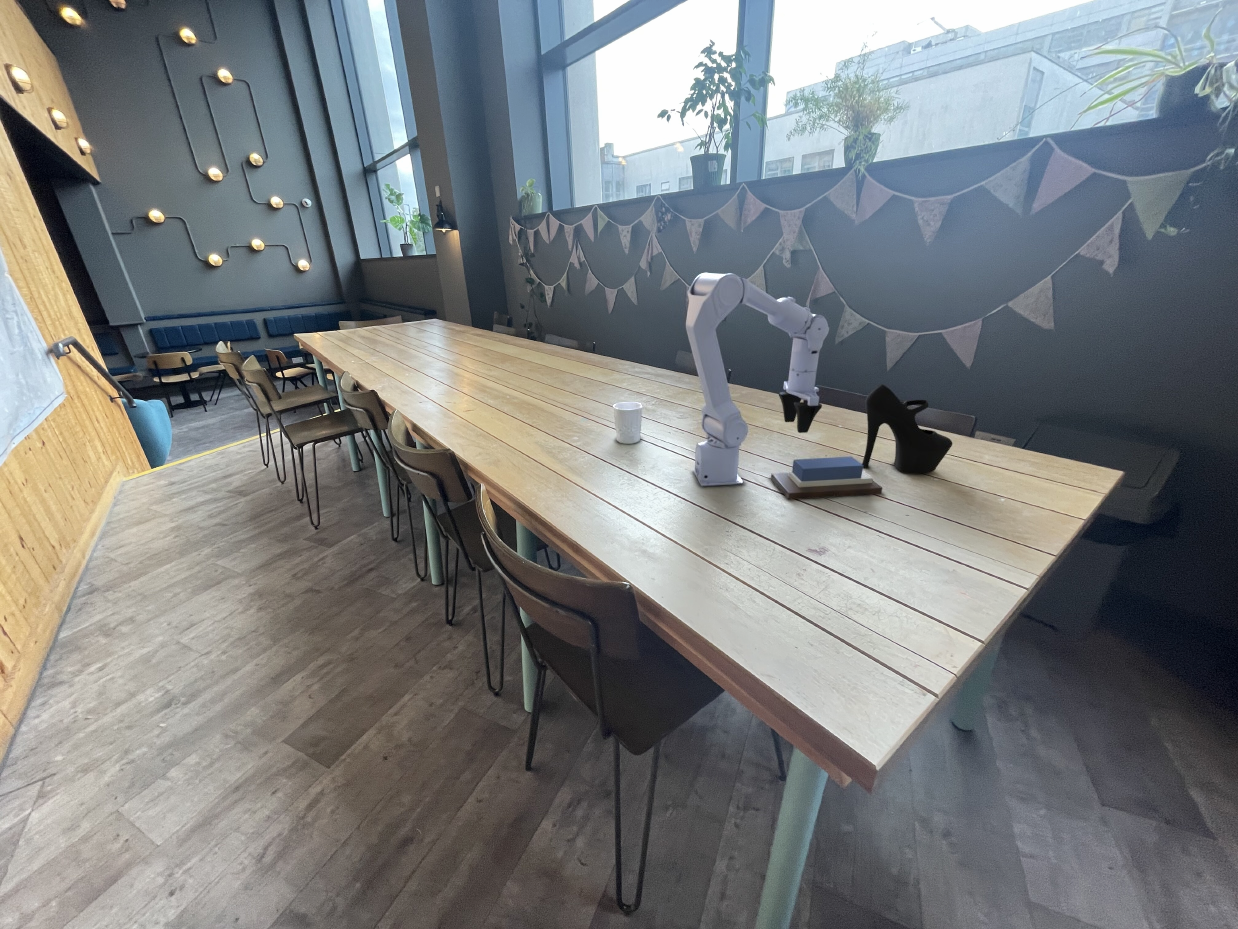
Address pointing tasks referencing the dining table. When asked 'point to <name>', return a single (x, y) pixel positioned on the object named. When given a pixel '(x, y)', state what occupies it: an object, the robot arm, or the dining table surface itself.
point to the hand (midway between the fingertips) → (795, 426)
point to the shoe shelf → (821, 488)
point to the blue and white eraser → (828, 472)
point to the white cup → (628, 421)
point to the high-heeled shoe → (904, 432)
